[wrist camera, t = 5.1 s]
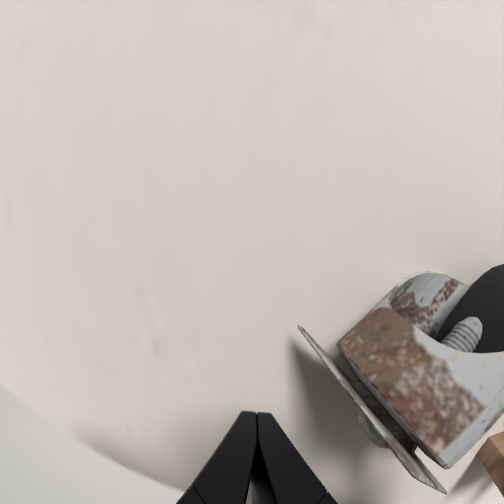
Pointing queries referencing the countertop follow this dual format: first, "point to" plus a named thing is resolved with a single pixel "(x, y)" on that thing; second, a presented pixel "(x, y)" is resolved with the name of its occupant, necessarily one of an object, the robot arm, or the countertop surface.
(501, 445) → the cradle
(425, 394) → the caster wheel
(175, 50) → the countertop surface
